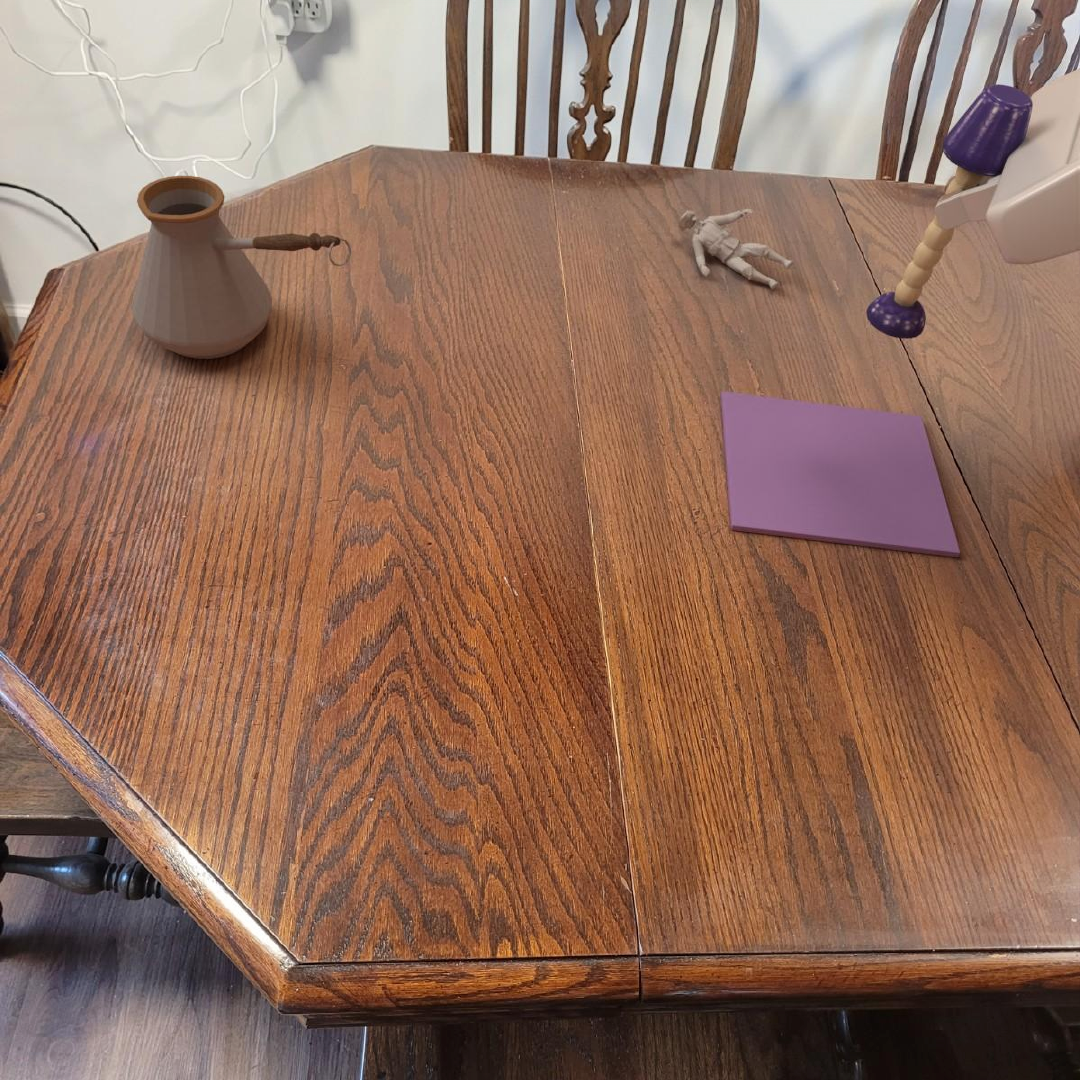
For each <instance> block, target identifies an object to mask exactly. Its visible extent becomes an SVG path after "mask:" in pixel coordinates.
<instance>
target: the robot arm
mask: <svg viewBox="0 0 1080 1080" xmlns="http://www.w3.org/2000/svg"><path fill="white" fill-rule="evenodd" d="M1030 98H1031V100H1032V103H1033V107H1032V113H1031V117H1030V121H1029V125H1028V129H1027V133H1026V136H1025V140H1024V141H1023V142H1022V144H1021V145H1020V146H1019V147H1018V148H1017V149H1016V150H1015V151H1013V152H1012V153H1011V154H1010V155H1009V157H1008V159H1007V161H1006V164H1005V166H1004V169H1003V172H1002V174H1001V175H998V176H996V177H991V176H984V177H983V179H982V180H981V181H980V182H979V183H978V184H977V185H976V187H975V188H971V189H968V190H965V188H964V187H962V188H960V189H957V190H955V191H953V192H951V193H950V194H946V195H945V193H946V190H947V187H948V186H949V184H950V182H951V181H952V180H953V179H954V178H956V172H955V173H952V174H951V175H950V176H949V177H948V180H947V182H946V184H945V186H944V195H942V196H941V197H939V199H938V201H937V203H936V205H935V207H934V210H933V214H934V217H935V216H936V218H937V220H938V223H939V225H940V227H941V228H942V229H945V230H949V229H952V228H954V229H955V228H957V227H959V226H962V225H965V224H967V223H969V222H971V223H972V222H973V223H974V222H983V221H986V222H987V224H988V227H989V229H990V232H991V235H992V237H993V238H994V241H995V244H996V246H997V248H998V250H999V253H1000V255H1001V257H1002V259H1003V260H1004V262H1006V263H1007V264H1010V265H1033V264H1038V263H1042V262H1045V261H1049V260H1051V259H1052V260H1053V259H1056V258H1059V257H1063V256H1066V255H1070V254H1073V253H1075V252H1079V251H1080V68H1077V69H1075V70H1073V71H1071V72H1068V73H1066V74H1064V75H1061V76H1060V77H1057V78H1055V79H1053V80H1052V81H1050V82H1047V83H1046V84H1044V85H1043V86H1042V87H1039V89H1037V90H1036V91H1035V92H1033V93H1032V95H1031V96H1030Z"/></svg>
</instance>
